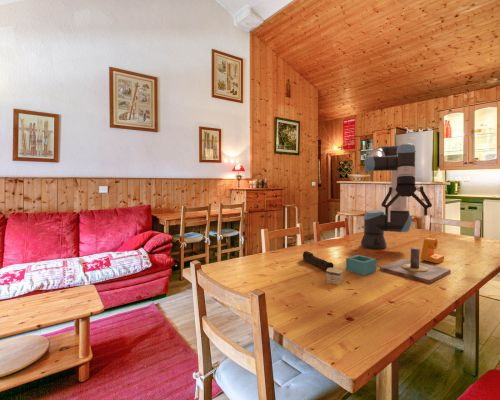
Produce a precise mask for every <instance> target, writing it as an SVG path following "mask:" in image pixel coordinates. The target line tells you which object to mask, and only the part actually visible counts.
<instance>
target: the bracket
mask: <svg viewBox="0 0 500 400" xmlns="http://www.w3.org/2000/svg"><path fill="white" fill-rule="evenodd" d="M422 244H423V245H422V250H421V254H420V260H421V261H424V260H425V262H430V263H435V264H439V263H442V262H443V260H445V255H443V254H437V253H435V251H434V250H437V248H438V239H437V238H431V237H425V238H424V239H423V243H422Z"/></svg>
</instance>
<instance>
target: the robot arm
mask: <svg viewBox="0 0 500 400" xmlns="http://www.w3.org/2000/svg"><path fill="white" fill-rule="evenodd" d="M416 151H417V150H416V145H414V144H413V143H403V144H399V145H397V144H395V145H382V146H379V147H376V148H373V149H372V150H371V151H369V153H368V156H366V157H364V170H365V171H366V172H381V171H382V172H383V171H391V175H390V176H391V178H390V184H391V186H389V188H388V192H387V194H386V196H385V197H384V199H383V201H382V203H381V204H380V206H381V207H383V208H385V211H384V210H383V209H380V210H379V209H377V210H370V211H369V210H368V211H366V212H365V213H364V217H363V222H364V223H363V224H364V225H363V228H364V229H363V236H362V239H361V242H360V247H362V248H365V249H370V250H385V249H387V242H386V238H385V233H384V232H390V233H408V232H409V231H410V230H411V225H412V221H413V220H412V218H413V215H412V213H410V210H409V209H408V208H407V199H408V198H410V197H412V198H413V199H415V201H417V203H418V204H419V205H420V206H421V207H422V208H421V224H425V216H428V209H429V208H432V206H433V204H432V202H431V201H430V199H429V198H428V195H427V194H426V192H425V191H424V186H421V185H420V186H417V187H416ZM416 191H418V192H419V193H420V194H421V196H422V198H423V200H424V201H425V202H424V201H423V200H422V199H420V197H419V196H418V195H417V193H415V192H416ZM389 199H390V200H389Z"/></svg>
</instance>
